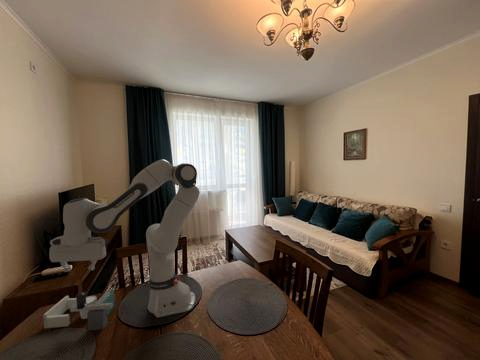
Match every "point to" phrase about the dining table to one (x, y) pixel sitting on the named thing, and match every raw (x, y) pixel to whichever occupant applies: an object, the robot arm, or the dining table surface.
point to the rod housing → (97, 319)
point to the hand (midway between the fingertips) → (79, 270)
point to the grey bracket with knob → (102, 303)
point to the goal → (59, 313)
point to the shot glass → (88, 301)
